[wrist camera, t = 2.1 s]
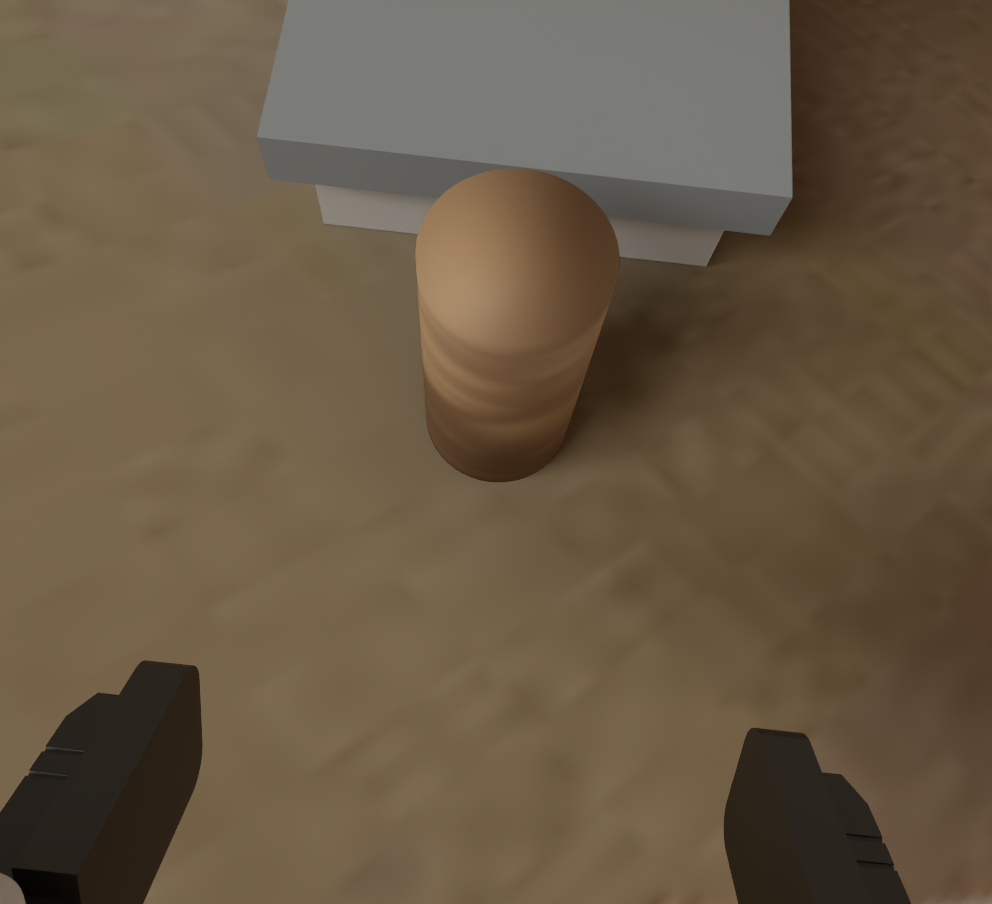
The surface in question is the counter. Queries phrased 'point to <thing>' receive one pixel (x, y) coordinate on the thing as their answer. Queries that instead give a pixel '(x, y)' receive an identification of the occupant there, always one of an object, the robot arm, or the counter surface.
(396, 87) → the grey stool
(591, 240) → the walnut roller
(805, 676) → the counter surface
